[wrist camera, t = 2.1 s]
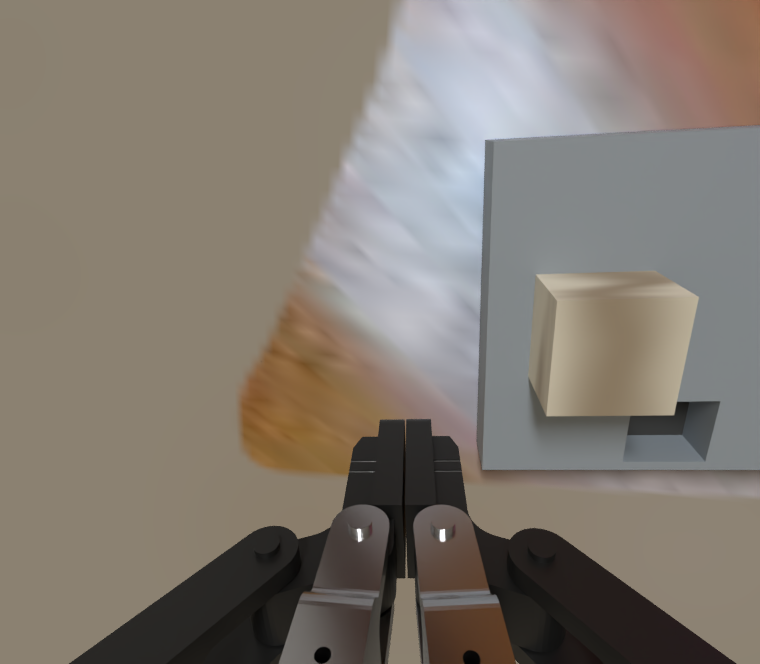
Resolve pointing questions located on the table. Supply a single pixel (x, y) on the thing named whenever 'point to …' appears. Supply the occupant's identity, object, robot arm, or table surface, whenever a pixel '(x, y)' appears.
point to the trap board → (623, 254)
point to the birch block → (609, 343)
